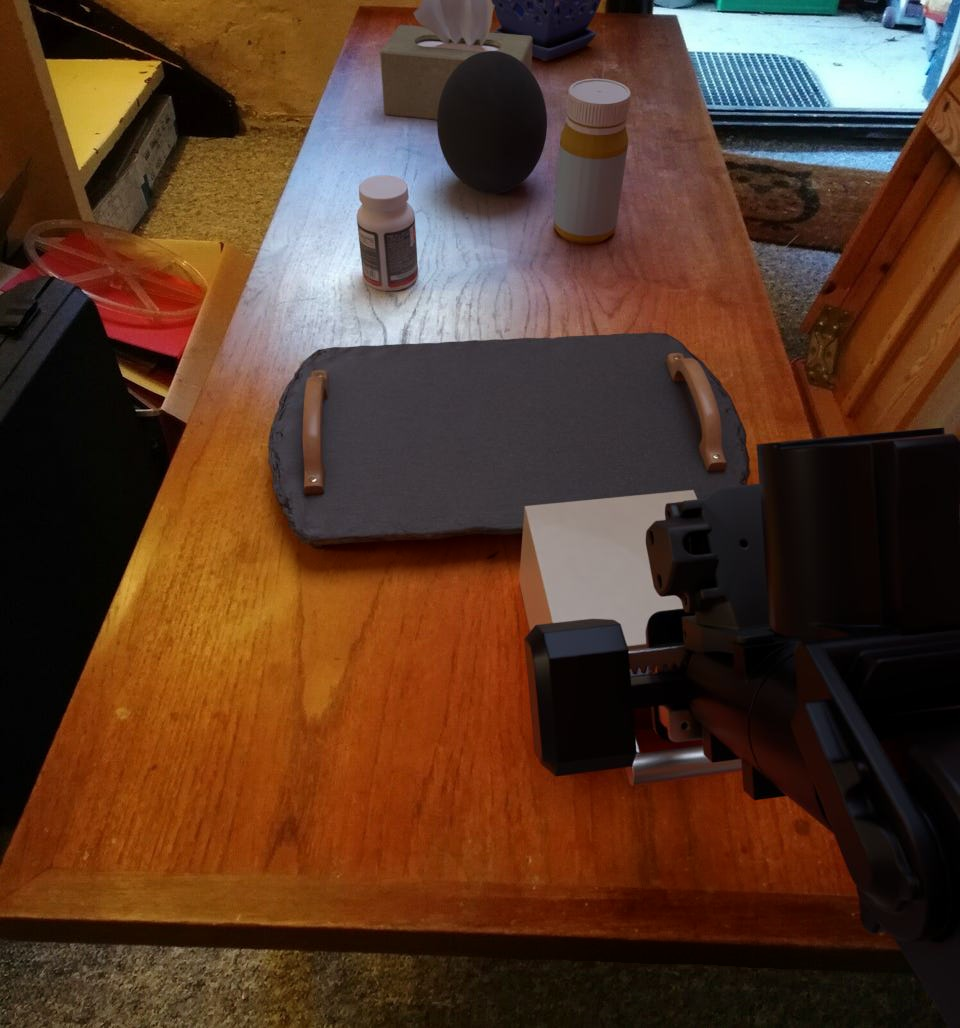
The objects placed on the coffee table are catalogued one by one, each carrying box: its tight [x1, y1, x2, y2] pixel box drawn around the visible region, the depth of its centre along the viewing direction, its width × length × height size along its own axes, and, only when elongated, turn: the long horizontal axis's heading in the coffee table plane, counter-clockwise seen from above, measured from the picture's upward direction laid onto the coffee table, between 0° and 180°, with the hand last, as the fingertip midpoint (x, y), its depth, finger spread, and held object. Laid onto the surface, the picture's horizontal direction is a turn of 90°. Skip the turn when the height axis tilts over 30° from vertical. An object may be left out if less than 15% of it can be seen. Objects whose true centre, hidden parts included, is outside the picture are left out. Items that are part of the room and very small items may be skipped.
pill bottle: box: [356, 174, 419, 292], centre depth 85 cm, size 6×6×10 cm
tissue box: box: [379, 0, 533, 121], centre depth 111 cm, size 19×10×16 cm, turn 79°
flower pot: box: [491, 0, 602, 62], centre depth 128 cm, size 13×13×12 cm
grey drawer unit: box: [518, 490, 697, 651], centre depth 56 cm, size 12×12×8 cm
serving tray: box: [267, 331, 751, 550], centre depth 70 cm, size 39×23×6 cm, turn 95°
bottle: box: [553, 78, 632, 245], centre depth 90 cm, size 7×7×15 cm
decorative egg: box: [436, 51, 548, 194], centre depth 96 cm, size 12×12×15 cm
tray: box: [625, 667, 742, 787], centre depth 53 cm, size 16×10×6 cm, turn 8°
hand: (677, 639), depth 46 cm, fingers closed
